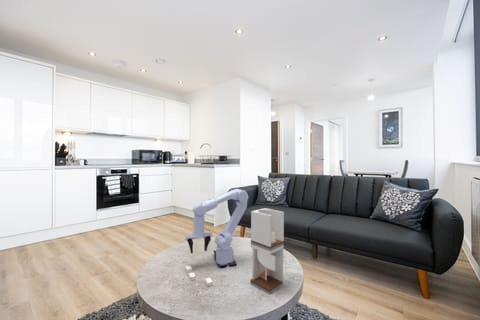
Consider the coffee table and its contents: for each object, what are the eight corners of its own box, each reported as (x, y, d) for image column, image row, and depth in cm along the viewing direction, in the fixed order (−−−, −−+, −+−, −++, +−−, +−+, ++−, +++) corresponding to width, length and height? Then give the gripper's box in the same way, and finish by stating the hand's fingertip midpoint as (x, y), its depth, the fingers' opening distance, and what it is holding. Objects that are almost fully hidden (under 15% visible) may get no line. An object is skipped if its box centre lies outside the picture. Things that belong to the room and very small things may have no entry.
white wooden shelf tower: (250, 284, 106) (251, 211, 106) (264, 276, 113) (265, 208, 113) (269, 294, 98) (270, 215, 98) (282, 285, 105) (284, 212, 105)
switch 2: (193, 275, 110) (193, 272, 110) (195, 279, 106) (195, 276, 106) (188, 276, 109) (188, 273, 109) (190, 280, 105) (190, 277, 105)
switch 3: (210, 281, 105) (210, 277, 105) (212, 285, 101) (212, 281, 101) (205, 282, 104) (205, 278, 104) (207, 286, 100) (207, 282, 100)
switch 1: (189, 268, 117) (189, 265, 117) (191, 272, 113) (191, 268, 113) (185, 269, 116) (185, 266, 116) (186, 273, 112) (186, 269, 112)
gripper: (187, 230, 113) (186, 256, 113) (214, 227, 119) (213, 252, 119) (184, 226, 120) (184, 251, 119) (210, 223, 126) (209, 247, 126)
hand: (198, 251), depth 120 cm, fingers open, 7 cm apart
